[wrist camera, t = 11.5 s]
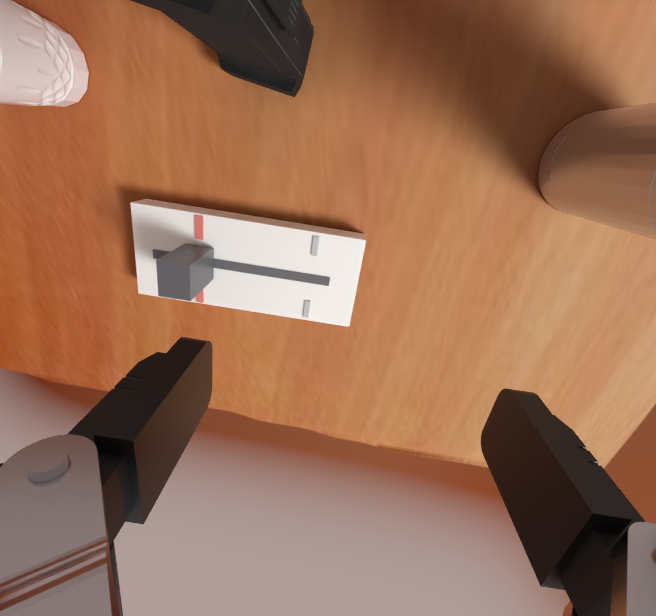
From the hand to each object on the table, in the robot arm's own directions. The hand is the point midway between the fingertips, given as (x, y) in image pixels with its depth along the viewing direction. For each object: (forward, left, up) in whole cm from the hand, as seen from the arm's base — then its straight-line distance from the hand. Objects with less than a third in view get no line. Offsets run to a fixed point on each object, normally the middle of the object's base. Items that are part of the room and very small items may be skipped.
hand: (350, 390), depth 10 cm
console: (+10, +7, -30) cm, 32 cm away
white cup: (+30, -9, -30) cm, 44 cm away
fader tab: (+15, +7, -27) cm, 32 cm away
